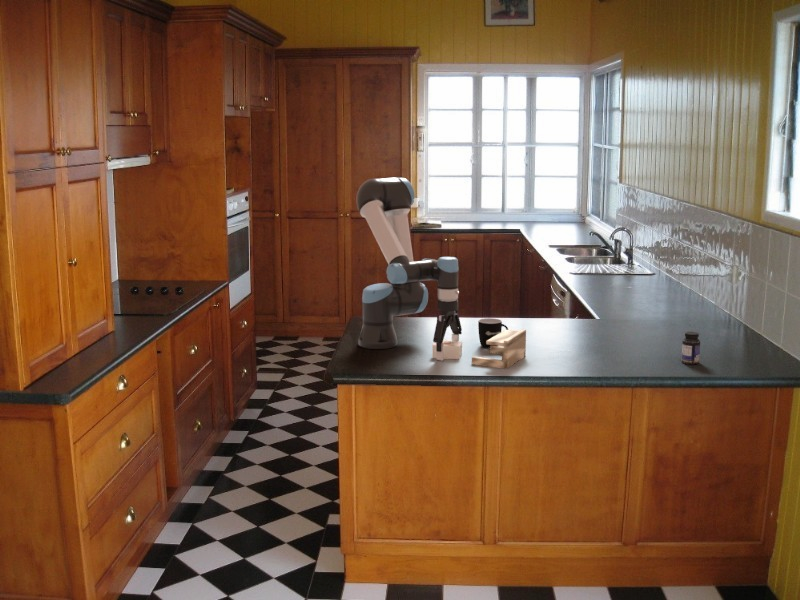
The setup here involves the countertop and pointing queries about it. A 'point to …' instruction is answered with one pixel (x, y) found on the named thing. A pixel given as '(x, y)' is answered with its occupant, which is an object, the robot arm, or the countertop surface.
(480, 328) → the mug
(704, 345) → the countertop surface
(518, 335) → the shelf
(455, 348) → the cream white block
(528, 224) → the countertop surface
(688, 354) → the pill bottle
